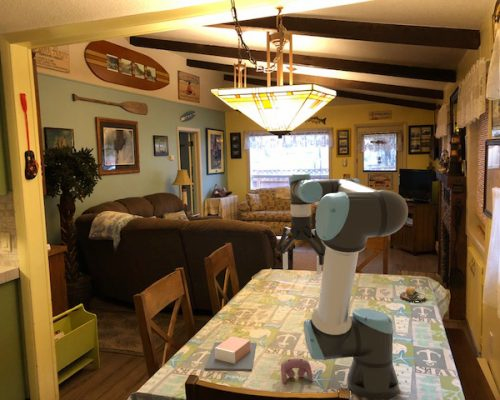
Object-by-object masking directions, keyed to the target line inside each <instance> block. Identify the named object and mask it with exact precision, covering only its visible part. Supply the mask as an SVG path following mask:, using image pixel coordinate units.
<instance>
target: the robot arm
mask: <svg viewBox="0 0 500 400" xmlns="http://www.w3.org/2000/svg"><path fill="white" fill-rule="evenodd" d="M289 178H290V179H289V189H290V190H289V192H290V193H289V194H290V195H289V196H290V215H291V216H290V227H288V226H285V227H283V229H282V234H281V237H280V239H279V242H278V243H277V245H276V248H275V251H276V252H279V253H280V261H281V262H282V271H287V270H288V269H289V259H288V257H289V255H288V253H289V252H288V249H289V248H290V246H292V244H293V243H294V241H302V242H303V241H304V242H305V241H306V242H307V243H308V244H309V245H310V246H311V247H312V249H313V250H314V252H315V253H316V254H317V256H316V275H320V274H321V282H320V289H319V297H318V304H317V306H318V307H317V308H315V309H314V310H313V312H312V313H311V319H310V318H307V319H305V320H304V321H303V332H304V340H305V343H306V346H307V347H306V348H307V350H308V353H309V356H310V358H311V359H313V360H315V361H317V360H318V361H320V360H321V361H327V360H328V361H329V360H337V359H347V358H352V361H351V365H350V367H349V371H348V373H347V377H346V379H347V380H346V382H347V387H348V388H349V390H351V392H352V393H354V394H356V395H358V396H360V397H363V398H366V399H371V400H386V399H391V398H393V397H394V396H396V395H397V394H398V393H399V387H400V386H399V379H398V377H397V372H396V370H395V367H394V365H393V362H394V361H393V354H394V353H393V347H394V346H393V340H394V339H393V338H394V330H393V329H394V328H393V320H392V318H391V316H390V315H388V314H386V313H385V312H383V311H380V310H376V309H372V308H364V307H362V308H361V307H359V308H356V309H354V310H353V311H352V313H351V316H350V314H349V310H350V304H351V299H352V293H353V287H354V281H355V276H356V271H357V265H358V264H357V263H358V258H359V253H360V252H362V251H364V250H365V248H366V247H367V243H368V238H378V237H386V236H390V235H392V234H395V233H397V231H399V230H400V229H401V228H403V226H405V223H406V222H407V219H408V217H409V216H408V215H409V207H408V204H407V202H406V199H404V197H403V196H401V195H400V194H399V193H397V192H394V191H391V190H388V189H380V190H377V189H375V188H372V187H370V186H369V187H368V186H367V185H364V184H362V183H361V181H360V180H359V179H358V178H352V177H351V178H350V177H347V178H335V179H334V178H333V179H329V178H327V179H311V174H310V173H292V174H291V175H290V177H289ZM316 202H318V205H317V207H316V212H315V218H314V219H315V224H314V225H315V228H314V229H312V216H311V215H312V204H313V203H316ZM289 234H291V236H290V237H289V239H288V240H287V237H288V235H289ZM312 234H313V236H314V237H315V240H316V241H315V240H314V238H313V237H312ZM286 240H287V241H286ZM285 242H286V243H285Z"/></svg>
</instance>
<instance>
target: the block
mask: <svg viewBox="0 0 500 400" xmlns="http://www.w3.org/2000/svg"><path fill="white" fill-rule="evenodd" d="M250 343H251V340H250V339H247V338H241V337H237V336H233V335H232V336H229V337H228V338H227V339H225V340H224V341H223V343H221V344H220V345H218V346H217V347H215V359H218V360H222V361H226V362H230V363H234V364H235V363H236V362H237V361H238V360H240V359H241V358H242V357H243V356H245V355H246V354H247V353H248V352H249V351H250Z"/></svg>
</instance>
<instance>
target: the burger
mask: <svg viewBox="0 0 500 400" xmlns="http://www.w3.org/2000/svg"><path fill="white" fill-rule="evenodd" d="M407 286H408V287H407V288H406V289H405V291H404V292H401V293H399V299H400V300H402V301H404V300H405V301H404V302H408V301H410V302H409V303H414V302H413V301H424V302H425V299H426V297H427V296H426V295H425V294H423V293H420V292H417V291H416V289H415V287H413V286H409V285H407ZM411 301H412V302H411Z"/></svg>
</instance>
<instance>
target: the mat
mask: <svg viewBox="0 0 500 400" xmlns="http://www.w3.org/2000/svg"><path fill="white" fill-rule="evenodd" d="M223 342H224V341H223ZM223 342H222V341H221V342H220V341H217V342H216V341H215V342H214V344H213V346H212V348H211V352H210V353H209V356H208V359H207V360H206V361H207V362H206V364H205V367H204V370H205V371H244V372H245V371H248V372H249V371H253V365H254V360H255V356H256V355H255V353H256V348H257V342H250V351H249V352H248V353H247V354H246V355H245V356H243V357H242V358H241V359H240V360H238V361H237V362H236V363H235V364H234V363H230V362H226V361H222V360H218V359H215V347H217V346H218V345H220V344H221V343H223Z"/></svg>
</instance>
